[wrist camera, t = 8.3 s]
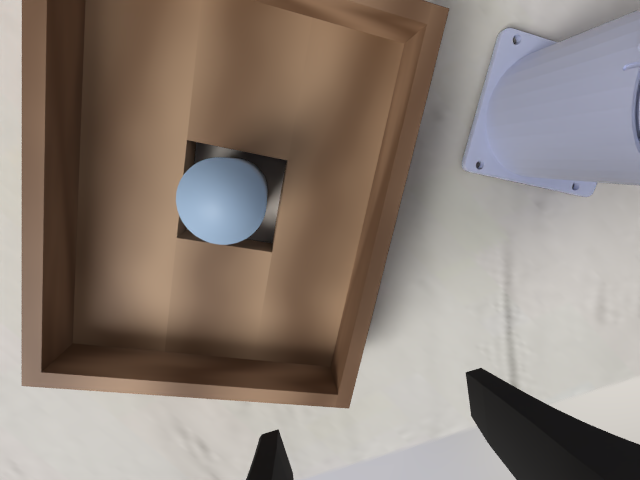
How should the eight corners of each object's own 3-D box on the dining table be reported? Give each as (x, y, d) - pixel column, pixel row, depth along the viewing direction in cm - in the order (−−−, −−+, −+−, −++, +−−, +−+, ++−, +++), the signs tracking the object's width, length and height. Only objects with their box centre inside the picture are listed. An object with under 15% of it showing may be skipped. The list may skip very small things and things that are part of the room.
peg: (273, 166, 19) (274, 169, 13) (260, 224, 20) (256, 252, 14) (211, 151, 18) (183, 147, 12) (200, 212, 19) (169, 235, 13)
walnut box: (407, 43, 18) (449, 8, 14) (334, 360, 22) (349, 408, 18) (92, -46, 15) (21, -126, 11) (77, 335, 20) (21, 385, 15)
